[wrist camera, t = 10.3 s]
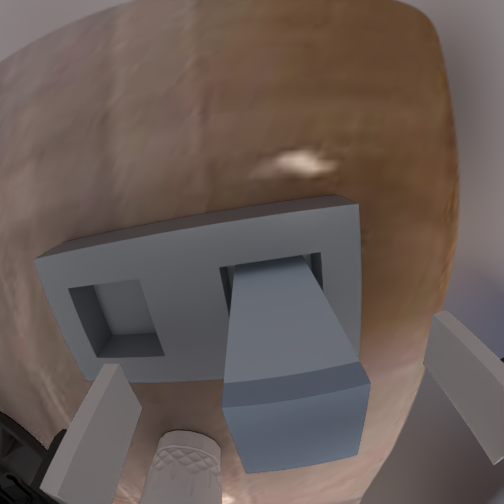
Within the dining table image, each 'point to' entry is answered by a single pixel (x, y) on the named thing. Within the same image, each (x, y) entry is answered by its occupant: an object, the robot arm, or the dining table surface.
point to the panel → (192, 284)
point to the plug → (289, 371)
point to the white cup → (184, 471)
